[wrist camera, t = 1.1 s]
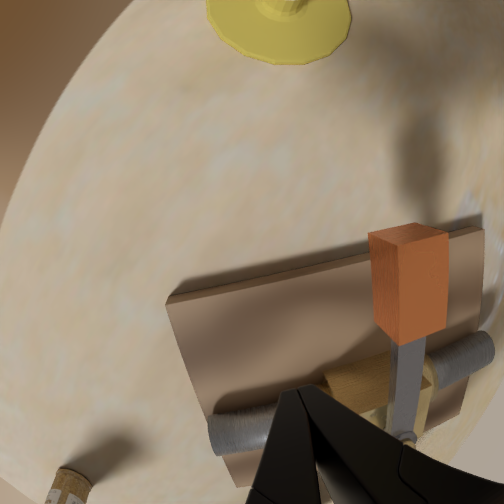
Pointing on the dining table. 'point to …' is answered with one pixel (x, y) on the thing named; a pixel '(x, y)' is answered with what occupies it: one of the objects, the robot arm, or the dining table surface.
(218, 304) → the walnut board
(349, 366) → the valve body
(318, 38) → the candle
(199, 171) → the dining table surface
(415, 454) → the robot arm
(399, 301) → the valve lever
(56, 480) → the sprinkles bottle
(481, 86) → the dining table surface
